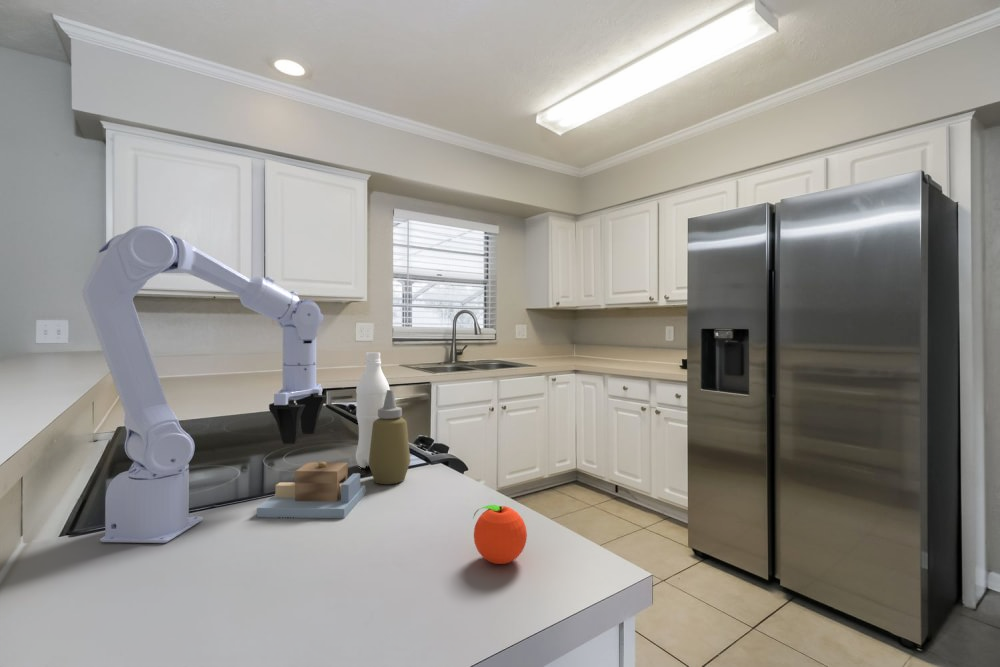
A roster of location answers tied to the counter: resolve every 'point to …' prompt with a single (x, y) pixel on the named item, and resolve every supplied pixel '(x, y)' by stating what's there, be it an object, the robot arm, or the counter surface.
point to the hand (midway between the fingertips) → (299, 438)
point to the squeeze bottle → (389, 444)
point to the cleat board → (312, 502)
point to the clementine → (500, 534)
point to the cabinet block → (320, 481)
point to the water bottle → (369, 404)
